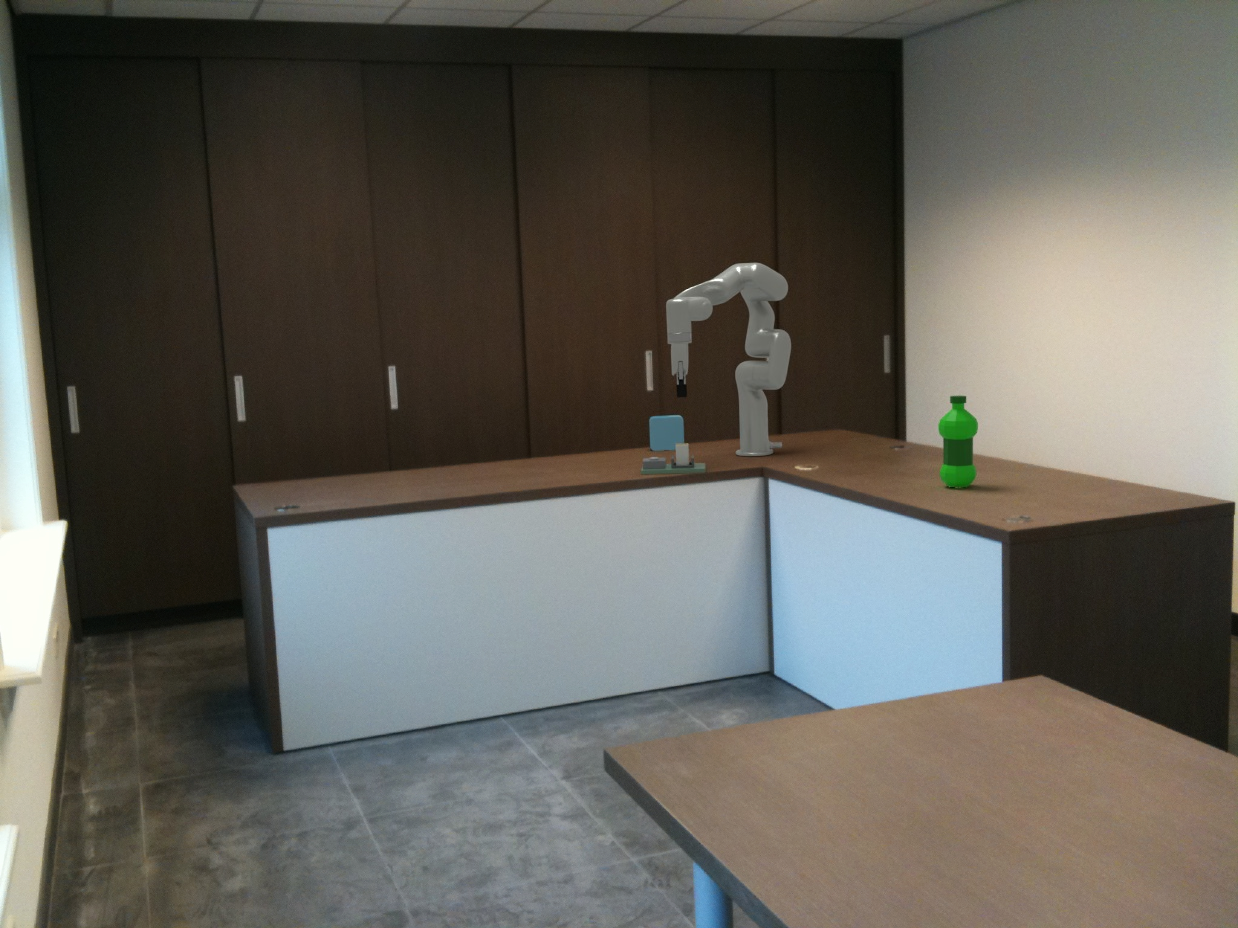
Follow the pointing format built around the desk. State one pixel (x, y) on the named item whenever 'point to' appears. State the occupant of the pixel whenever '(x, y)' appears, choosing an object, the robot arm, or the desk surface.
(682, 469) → the board
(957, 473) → the plastic bottle
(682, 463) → the plug
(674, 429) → the blue rounded square block
